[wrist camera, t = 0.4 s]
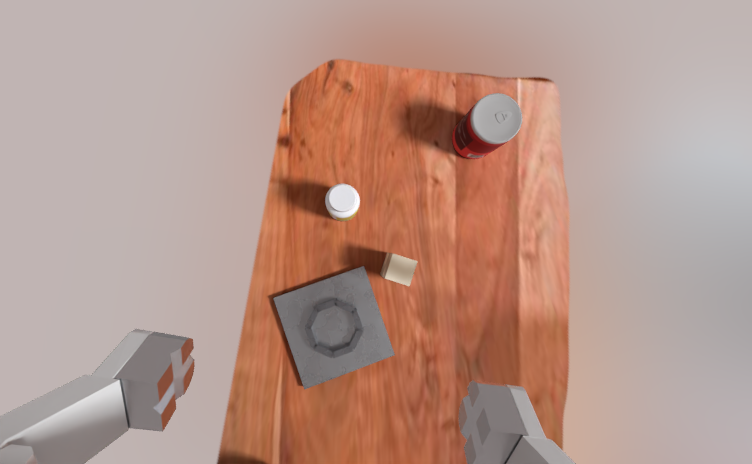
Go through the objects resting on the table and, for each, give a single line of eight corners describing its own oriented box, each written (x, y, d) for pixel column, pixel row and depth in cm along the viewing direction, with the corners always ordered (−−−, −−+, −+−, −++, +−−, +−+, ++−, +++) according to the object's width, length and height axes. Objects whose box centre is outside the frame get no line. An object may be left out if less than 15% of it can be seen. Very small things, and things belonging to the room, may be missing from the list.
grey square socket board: (393, 353, 63) (395, 357, 60) (305, 386, 61) (303, 392, 58) (363, 265, 63) (364, 266, 60) (274, 297, 61) (271, 299, 59)
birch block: (401, 281, 63) (409, 286, 55) (379, 274, 63) (384, 278, 55) (408, 259, 63) (417, 261, 56) (386, 252, 63) (392, 253, 55)
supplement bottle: (364, 202, 63) (367, 193, 54) (347, 227, 63) (347, 224, 53) (338, 184, 63) (337, 173, 53) (321, 209, 63) (316, 203, 53)
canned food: (501, 143, 66) (532, 122, 55) (468, 169, 65) (492, 153, 54) (476, 109, 66) (502, 82, 55) (442, 135, 65) (461, 113, 54)
